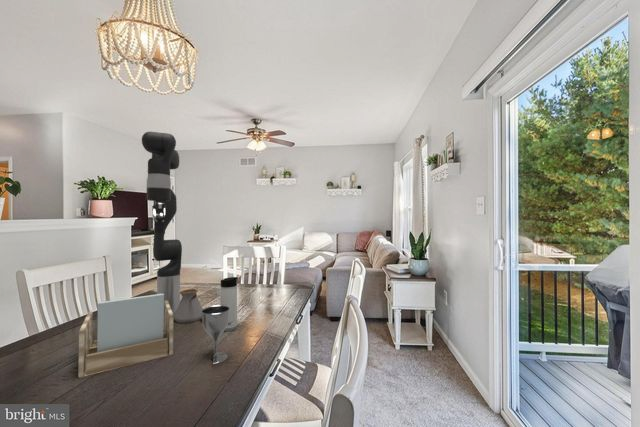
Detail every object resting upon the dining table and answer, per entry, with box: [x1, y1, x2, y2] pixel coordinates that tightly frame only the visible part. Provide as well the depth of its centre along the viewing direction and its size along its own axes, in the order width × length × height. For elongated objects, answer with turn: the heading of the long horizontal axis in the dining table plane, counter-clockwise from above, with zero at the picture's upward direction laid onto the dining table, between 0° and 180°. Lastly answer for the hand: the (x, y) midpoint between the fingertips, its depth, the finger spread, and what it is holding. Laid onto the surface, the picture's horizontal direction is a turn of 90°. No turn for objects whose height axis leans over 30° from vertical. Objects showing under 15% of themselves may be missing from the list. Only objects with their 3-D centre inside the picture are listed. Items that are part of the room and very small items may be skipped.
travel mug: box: [219, 276, 239, 332], centre depth 108 cm, size 6×7×20 cm
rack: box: [77, 301, 174, 378], centre depth 86 cm, size 18×22×14 cm
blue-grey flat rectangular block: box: [96, 293, 164, 353], centre depth 81 cm, size 2×16×18 cm, turn 125°
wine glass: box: [201, 304, 229, 365], centre depth 85 cm, size 8×8×15 cm
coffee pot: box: [173, 288, 204, 324], centre depth 111 cm, size 21×12×15 cm, turn 33°
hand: (158, 232), depth 99 cm, fingers open, 8 cm apart
